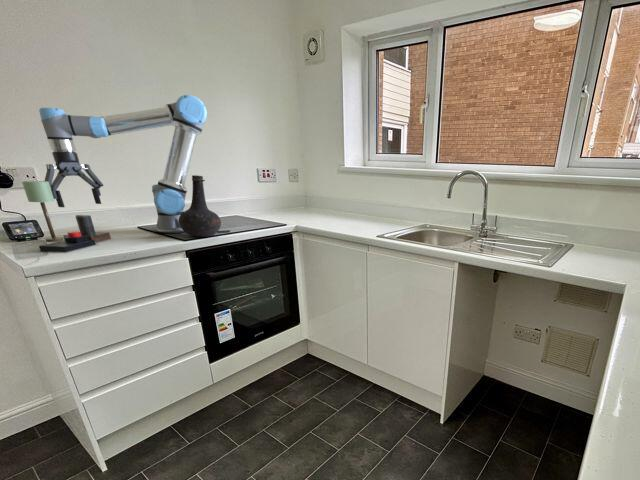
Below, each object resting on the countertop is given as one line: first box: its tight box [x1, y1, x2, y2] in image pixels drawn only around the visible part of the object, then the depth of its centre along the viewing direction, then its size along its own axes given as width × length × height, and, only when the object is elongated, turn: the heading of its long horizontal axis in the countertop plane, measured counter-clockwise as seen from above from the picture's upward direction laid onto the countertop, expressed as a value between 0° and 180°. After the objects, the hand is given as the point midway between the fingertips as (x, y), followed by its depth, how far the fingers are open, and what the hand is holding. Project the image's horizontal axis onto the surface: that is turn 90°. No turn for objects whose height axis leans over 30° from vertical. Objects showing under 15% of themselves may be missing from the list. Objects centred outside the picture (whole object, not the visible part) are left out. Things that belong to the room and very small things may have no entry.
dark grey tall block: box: [75, 214, 96, 236], centre depth 152 cm, size 5×5×8 cm
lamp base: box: [38, 235, 97, 253], centre depth 142 cm, size 10×14×4 cm
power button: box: [67, 230, 81, 237], centre depth 145 cm, size 4×4×2 cm
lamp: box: [21, 180, 64, 243], centre depth 133 cm, size 7×7×22 cm
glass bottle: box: [179, 174, 222, 238], centre depth 167 cm, size 18×18×28 cm
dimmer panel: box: [63, 231, 112, 244], centre depth 155 cm, size 13×11×3 cm
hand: (80, 205), depth 149 cm, fingers open, 13 cm apart
